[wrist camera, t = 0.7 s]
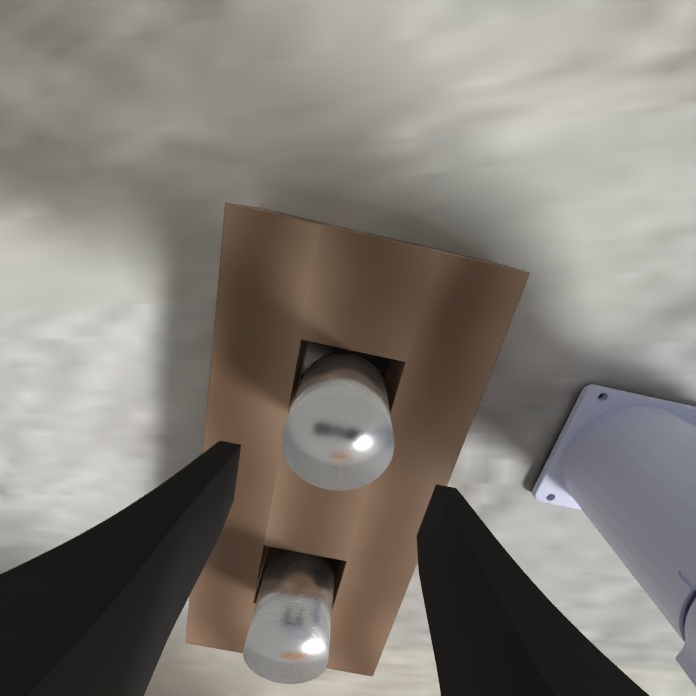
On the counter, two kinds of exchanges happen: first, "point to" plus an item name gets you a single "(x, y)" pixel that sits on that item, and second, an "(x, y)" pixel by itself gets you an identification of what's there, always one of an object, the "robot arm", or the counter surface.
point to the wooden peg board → (280, 390)
